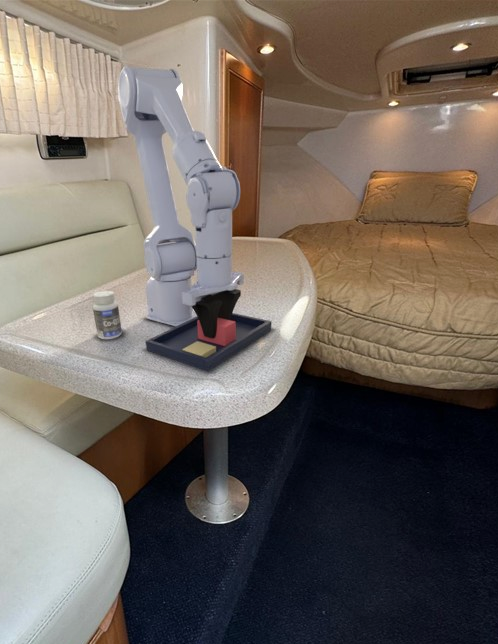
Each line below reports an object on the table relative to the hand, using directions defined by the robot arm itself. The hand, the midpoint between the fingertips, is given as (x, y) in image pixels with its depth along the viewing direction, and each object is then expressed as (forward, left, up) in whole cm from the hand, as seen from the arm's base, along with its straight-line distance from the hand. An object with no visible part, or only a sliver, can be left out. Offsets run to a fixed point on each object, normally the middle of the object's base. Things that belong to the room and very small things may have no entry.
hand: (216, 333), depth 64 cm
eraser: (0, 0, -1) cm, 1 cm away
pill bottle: (-19, -9, -2) cm, 21 cm away
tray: (-1, 0, -2) cm, 2 cm away
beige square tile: (+1, -6, -1) cm, 6 cm away
